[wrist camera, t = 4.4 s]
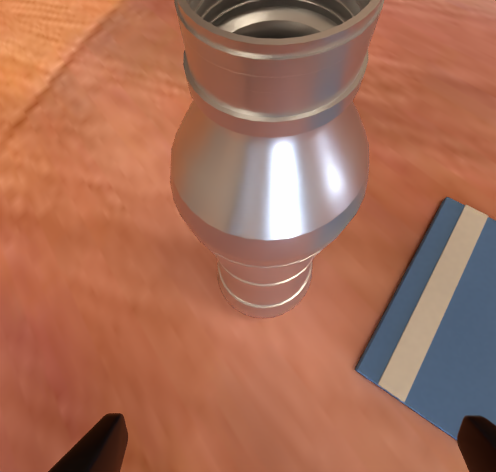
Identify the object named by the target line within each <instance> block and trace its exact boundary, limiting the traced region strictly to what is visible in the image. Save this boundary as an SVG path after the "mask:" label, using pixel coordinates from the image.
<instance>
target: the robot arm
mask: <svg viewBox="0 0 496 472" xmlns="http://www.w3.org/2000/svg"><path fill="white" fill-rule="evenodd" d="M127 442H128V432H127V428H126V424H125V420H124V416H123V415H122V414H120V413H109V414H107V415H105V416H104V417H103V418H102V419H101V420H100V421H99V422H98V423H97V424H96V425H95V426H94V427H93V428H92V429H91V430H90V431H89V432H88V433H87V434H86V435H85V436H84V437H83V438H82V439H81V440H80V441H79V442H78V443H77V444H76V445H75V446H74V447H73V448H72V449H71V450H70V451H69V452H68V453H67V454H65V455H64V456H63V457H62V458H61V459H60V460H59V461H58V462H57V463H56V464H55V465H54V466H53V467H52V468H51V469H50V470H49V471H48V472H120V469H121V465H122V462H123V458H124V454H125V450H126V447H127ZM457 442H458V446H459V449H460V451H461V453H462V456H463V458H464V460H465V463H466V465H467V467H468V470H469V472H496V425H495V424H493V423H492V422H491V421H489V420H488V419H486V418H485V417H483V416H480V415H466V416H464V418H463V420H462V423H461V426H460V429H459V432H458V435H457Z"/></svg>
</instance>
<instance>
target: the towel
mask: <svg viewBox="0 0 496 472" xmlns="http://www.w3.org/2000/svg"><path fill="white" fill-rule="evenodd" d="M355 370H356V371H357V372H358V373H360V374H361V375H363V376H364V377H366V378H367V379H369V380H370V381H371V382H373V383H374V384H376V385H377V386H379V387H380V388H382V389H383V390H384V391H386V392H387V393H389V394H390V395H392V396H393V397H395V398H396V399H397V400H399V401H400V402H402V403H403V404H405V405H406V406H408V407H409V408H411V409H412V410H413V411H415V412H416V413H418V414H419V415H421V416H422V417H424V418H425V419H426V420H428V421H429V422H431V423H432V424H434V425H435V426H437V427H438V428H439V429H441V430H442V431H444V432H445V433H447V434H448V435H450V436H451V437H452V438H454V439H455V440H457V435H458V432H459V429H460V426H461V423H462V420H463V418H464V416H466V415H480V416H483V417H485V418H486V419H488V420H489V421H491V422H492V423H493V424H495V425H496V221H495V220H493V219H491V218H489V217H488V215H486V214H484V213H482V212H480V211H478V210H476V209H474V208H472V207H470V206H468V205H463V204H461V203H459V202H457V201H455V200H453V199H451V198H449V197H446V198H445V199H444V200H443V201H442V203H441V205H440V207H439V209H438V211H437V213H436V215H435V217H434V219H433V221H432V223H431V224H430V226H429V228H428V230H427V232H426V234H425V236H424V238H423V240H422V242H421V244H420V246H419V247H418V249H417V251H416V253H415V255H414V257H413V259H412V261H411V263H410V265H409V267H408V268H407V270H406V272H405V274H404V276H403V278H402V280H401V282H400V284H399V286H398V288H397V290H396V291H395V293H394V295H393V297H392V299H391V301H390V303H389V305H388V307H387V309H386V311H385V313H384V314H383V316H382V318H381V320H380V322H379V324H378V326H377V328H376V330H375V332H374V334H373V336H372V337H371V339H370V341H369V343H368V345H367V347H366V349H365V351H364V353H363V355H362V357H361V358H360V360H359V362H358V364H357V366H356V368H355Z"/></svg>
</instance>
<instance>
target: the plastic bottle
mask: <svg viewBox="0 0 496 472" xmlns="http://www.w3.org/2000/svg"><path fill="white" fill-rule="evenodd" d="M174 3H175V7H176V11H177V16H178V20H179V25H180V29H181V34H182V38H183V43H184V47H185V51H184V64H183V65H184V70H185V74H186V78H187V82H188V86H189V90H190V94H191V96H192V98H193V101H192V103H191V105H190V107H189V109H188V111H187V113H186V114H185V117H184V119H183V121H182V123H181V125H180V127H179V129H178V131H177V133H176V135H175V139H174V142H173V146H172V149H171V175H170V184H171V189H172V194H173V200H174V202H175V204H176V207H177V209H178V211H179V213H180V215H181V217H182V218H183V220H184V221H185V222H186V224H187V225H188V226H189V228H190V229H191V230H192V232H193V233H194V234H195V236H196V237H197V238H198V240H200V241H201V242H202V243H203V244H204V245H205V246H206V247H207V248H208V249H209V250H210V251H211V252H213V253H214V254H215V256H216V257H217V259H218V262H217V276H218V283H219V287H220V289H221V292H222V294H223V296H224V297H225V299H226V300H227V301H228V303H229V304H230V305H231V306H233V307H234V308H235V309H236V310H238V311H239V312H241V313H243V314H245V315H248V316H251V317H256V318H270V317H275V316H279V315H282V314H284V313H286V312H288V311H289V310H291V309H292V308H294V307H295V306H296V305H297V304H298V303H299V302H300V301H301V300H302V298H303V297H304V296H305V294H306V292H307V290H308V288H309V285H310V281H311V277H312V260H313V259H314V257H315V256H316V255H317V254H318V253H319V252H320V251H321V250H323V249H324V248H325V247H326V246H327V245H328V244H330V243H331V242H332V241H333V240H335V239H336V238H337V236H338V235H339V234H340V233H341V232H342V230H343V229H344V228H345V227H346V226H347V224H348V223H349V222H350V221H351V219H352V218H353V217H354V216H355V214H356V213H357V211H358V209H359V207H360V205H361V203H362V200H363V198H364V196H365V191H366V187H367V182H368V173H369V144H368V140H367V136H366V132H365V129H364V126H363V124H362V121H361V119H360V116H359V113H358V111H357V109H356V107H355V105H354V103H353V99H354V97H355V95H356V94H357V92H358V90H359V87H360V84H361V82H362V79H363V76H364V73H365V70H366V66H367V62H368V47H369V44H370V41H371V38H372V35H373V32H374V30H375V27H376V24H377V21H378V18H379V15H380V13H381V10H382V7H383V3H384V0H175V2H174Z"/></svg>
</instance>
